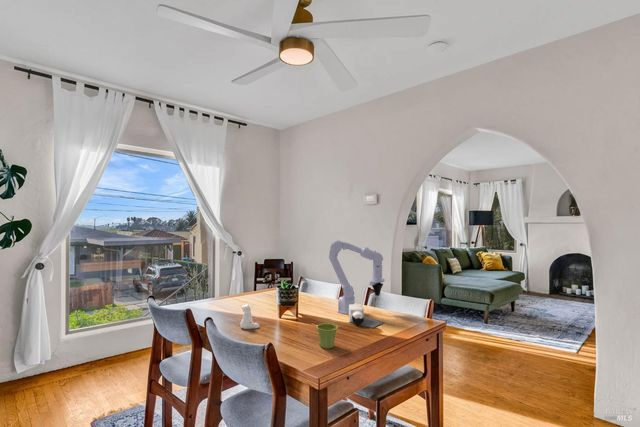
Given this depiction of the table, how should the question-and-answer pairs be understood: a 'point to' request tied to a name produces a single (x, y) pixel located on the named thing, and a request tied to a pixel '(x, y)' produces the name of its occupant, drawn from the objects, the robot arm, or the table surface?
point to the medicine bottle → (356, 313)
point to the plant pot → (327, 335)
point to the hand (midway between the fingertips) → (377, 295)
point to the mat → (370, 323)
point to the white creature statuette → (247, 319)
